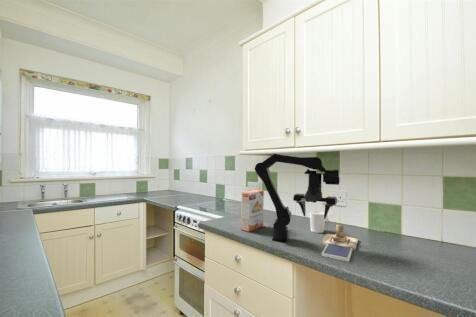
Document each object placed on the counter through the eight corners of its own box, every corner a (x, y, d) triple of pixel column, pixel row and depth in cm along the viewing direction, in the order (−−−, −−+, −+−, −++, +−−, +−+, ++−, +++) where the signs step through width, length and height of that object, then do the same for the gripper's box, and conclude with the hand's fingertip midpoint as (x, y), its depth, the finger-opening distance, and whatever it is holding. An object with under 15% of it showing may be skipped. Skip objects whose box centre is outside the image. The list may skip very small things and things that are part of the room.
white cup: (306, 229, 127) (306, 211, 127) (318, 228, 130) (318, 210, 130) (316, 234, 120) (316, 214, 120) (328, 232, 122) (328, 213, 122)
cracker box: (249, 232, 122) (249, 193, 122) (240, 230, 126) (240, 192, 126) (264, 226, 133) (264, 190, 133) (255, 224, 137) (255, 189, 137)
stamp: (333, 240, 107) (333, 226, 107) (334, 237, 111) (334, 223, 111) (344, 243, 104) (344, 228, 104) (346, 239, 108) (346, 225, 108)
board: (320, 244, 105) (320, 241, 105) (327, 235, 117) (327, 233, 117) (355, 250, 98) (355, 248, 98) (357, 240, 110) (357, 238, 110)
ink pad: (321, 256, 93) (321, 252, 93) (327, 246, 103) (327, 243, 103) (348, 261, 88) (348, 257, 88) (352, 251, 98) (352, 247, 98)
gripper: (289, 184, 105) (289, 218, 105) (333, 187, 95) (332, 225, 95) (297, 182, 115) (296, 213, 115) (337, 184, 105) (337, 219, 105)
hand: (314, 217), depth 107 cm, fingers open, 9 cm apart
